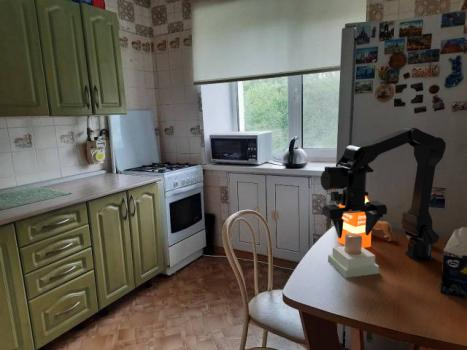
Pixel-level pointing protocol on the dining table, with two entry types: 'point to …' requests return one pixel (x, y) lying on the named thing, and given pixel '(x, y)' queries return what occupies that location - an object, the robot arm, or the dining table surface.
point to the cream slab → (353, 258)
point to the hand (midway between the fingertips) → (353, 236)
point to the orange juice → (355, 226)
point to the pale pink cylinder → (353, 243)
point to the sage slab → (353, 271)
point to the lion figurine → (384, 229)
